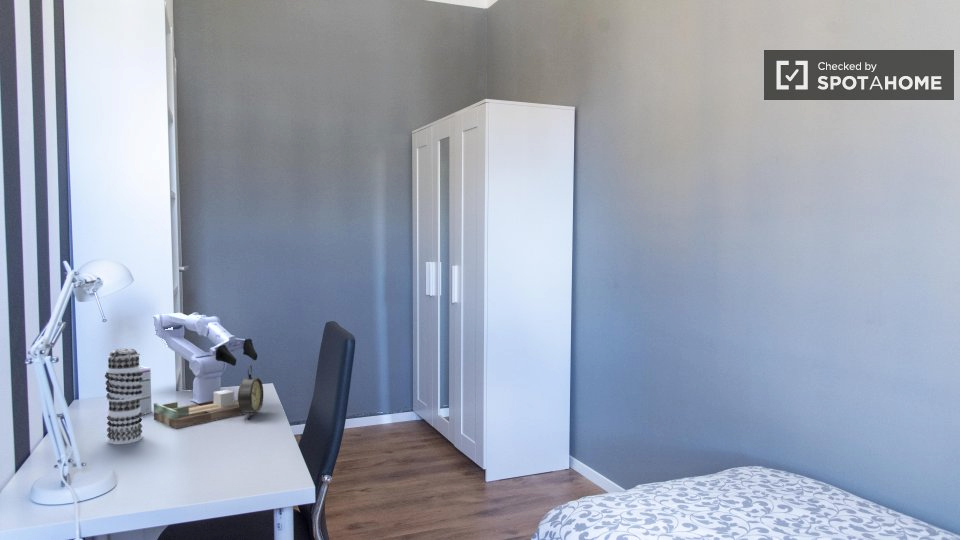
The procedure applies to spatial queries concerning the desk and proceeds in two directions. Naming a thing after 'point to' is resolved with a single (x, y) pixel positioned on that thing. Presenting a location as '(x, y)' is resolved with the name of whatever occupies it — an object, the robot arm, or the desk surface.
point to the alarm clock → (250, 395)
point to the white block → (223, 398)
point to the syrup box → (145, 390)
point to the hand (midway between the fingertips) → (245, 360)
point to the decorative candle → (124, 396)
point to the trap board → (193, 413)
